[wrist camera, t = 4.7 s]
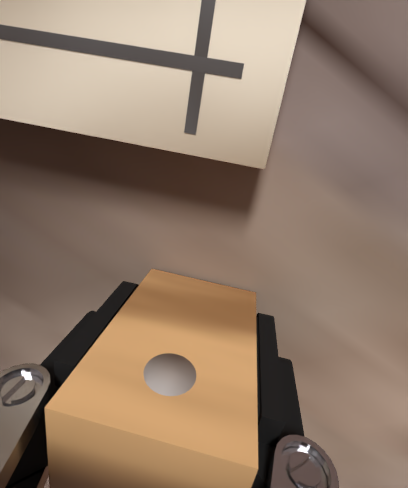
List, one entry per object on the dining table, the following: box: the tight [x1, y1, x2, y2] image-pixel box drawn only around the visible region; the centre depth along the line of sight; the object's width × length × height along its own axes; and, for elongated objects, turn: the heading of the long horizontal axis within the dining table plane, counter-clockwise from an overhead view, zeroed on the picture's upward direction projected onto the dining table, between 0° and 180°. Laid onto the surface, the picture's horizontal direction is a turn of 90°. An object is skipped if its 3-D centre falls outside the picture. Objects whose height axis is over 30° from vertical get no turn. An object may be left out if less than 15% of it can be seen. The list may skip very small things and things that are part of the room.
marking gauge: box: [44, 269, 258, 488], centre depth 10 cm, size 9×4×6 cm, turn 170°
